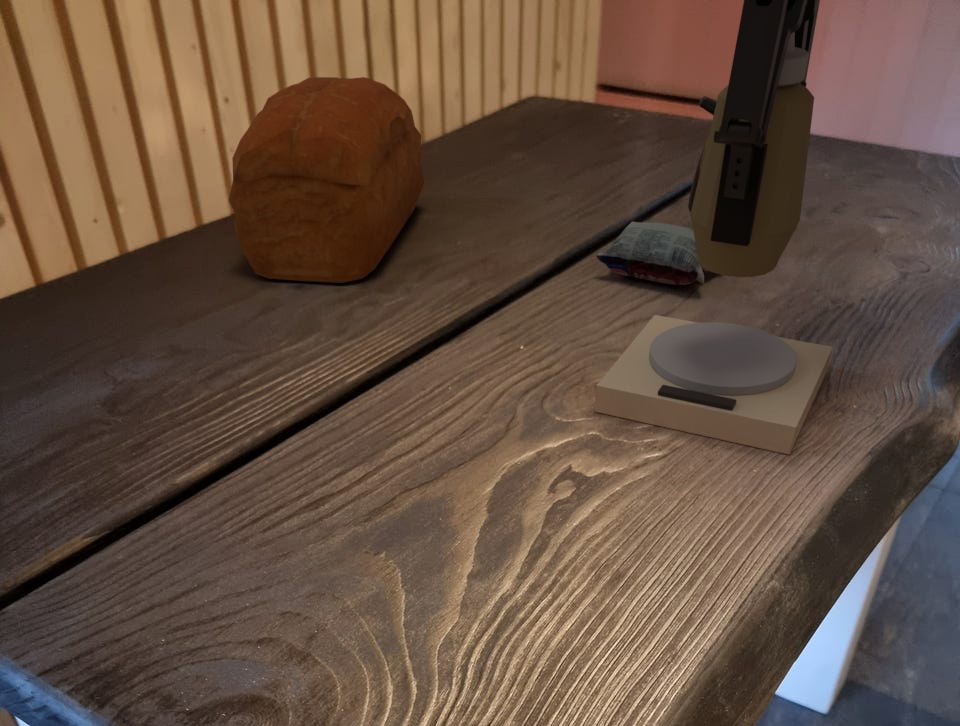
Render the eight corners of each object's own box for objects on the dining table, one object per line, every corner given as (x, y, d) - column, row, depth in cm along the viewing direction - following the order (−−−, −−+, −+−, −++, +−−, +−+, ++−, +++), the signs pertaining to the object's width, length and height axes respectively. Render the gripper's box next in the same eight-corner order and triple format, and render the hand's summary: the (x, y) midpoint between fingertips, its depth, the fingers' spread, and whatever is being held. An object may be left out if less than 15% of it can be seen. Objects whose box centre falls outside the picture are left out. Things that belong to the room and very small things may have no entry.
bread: (231, 279, 98) (198, 112, 87) (307, 198, 117) (288, 53, 107) (378, 288, 96) (363, 117, 85) (431, 203, 115) (425, 56, 104)
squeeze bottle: (811, 269, 71) (877, -13, 59) (737, 294, 68) (790, 0, 56) (735, 239, 76) (781, -28, 64) (662, 261, 73) (696, -16, 61)
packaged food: (626, 251, 102) (631, 204, 99) (729, 271, 98) (737, 223, 94) (592, 279, 97) (595, 231, 94) (699, 301, 92) (706, 251, 89)
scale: (826, 372, 81) (835, 337, 79) (789, 454, 71) (798, 417, 69) (651, 339, 86) (655, 306, 84) (594, 411, 76) (597, 376, 74)
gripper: (790, -183, 63) (731, 177, 78) (704, -173, 49) (654, 262, 64) (906, -183, 60) (822, 189, 76) (850, -173, 46) (761, 279, 62)
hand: (745, 222), depth 70 cm, fingers closed on squeeze bottle, 8 cm apart
